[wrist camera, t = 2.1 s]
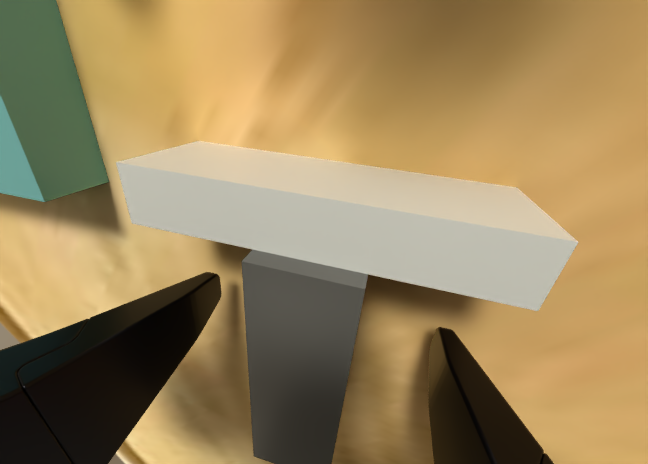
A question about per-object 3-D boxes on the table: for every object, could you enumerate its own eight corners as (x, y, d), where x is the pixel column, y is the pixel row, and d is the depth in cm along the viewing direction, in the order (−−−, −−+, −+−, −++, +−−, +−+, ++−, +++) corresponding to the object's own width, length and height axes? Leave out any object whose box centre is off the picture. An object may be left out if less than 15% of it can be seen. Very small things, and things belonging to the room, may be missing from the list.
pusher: (423, 407, 12) (429, 519, 9) (225, 349, 13) (172, 426, 10) (515, 186, 7) (596, 257, 4) (200, 140, 9) (94, 167, 6)
